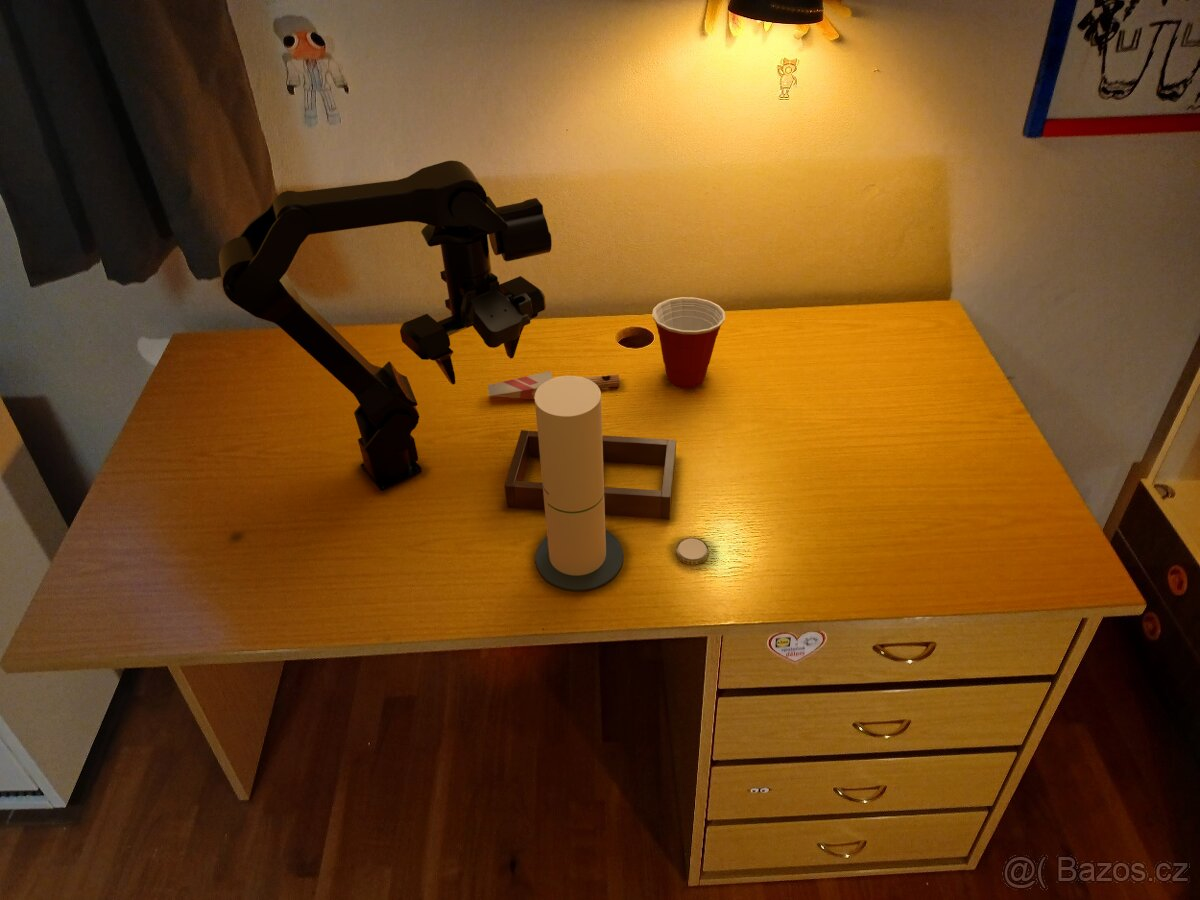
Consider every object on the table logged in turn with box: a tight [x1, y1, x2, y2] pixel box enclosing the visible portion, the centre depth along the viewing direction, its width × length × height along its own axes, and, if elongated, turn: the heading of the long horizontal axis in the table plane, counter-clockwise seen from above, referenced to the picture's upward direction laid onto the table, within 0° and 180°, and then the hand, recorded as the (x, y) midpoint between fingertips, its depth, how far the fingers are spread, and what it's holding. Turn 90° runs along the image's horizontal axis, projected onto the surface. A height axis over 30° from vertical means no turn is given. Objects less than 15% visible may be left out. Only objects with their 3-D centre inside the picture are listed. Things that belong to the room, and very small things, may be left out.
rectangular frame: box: [504, 429, 677, 520], centre depth 123 cm, size 22×11×4 cm, turn 83°
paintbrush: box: [487, 370, 621, 400], centre depth 139 cm, size 4×3×20 cm
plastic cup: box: [652, 296, 726, 390], centre depth 138 cm, size 11×11×12 cm
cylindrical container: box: [533, 375, 606, 576], centre depth 106 cm, size 7×7×25 cm
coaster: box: [535, 529, 625, 593], centre depth 114 cm, size 11×11×1 cm
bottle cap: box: [675, 537, 709, 565], centre depth 114 cm, size 4×4×1 cm
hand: (481, 369), depth 122 cm, fingers open, 9 cm apart
